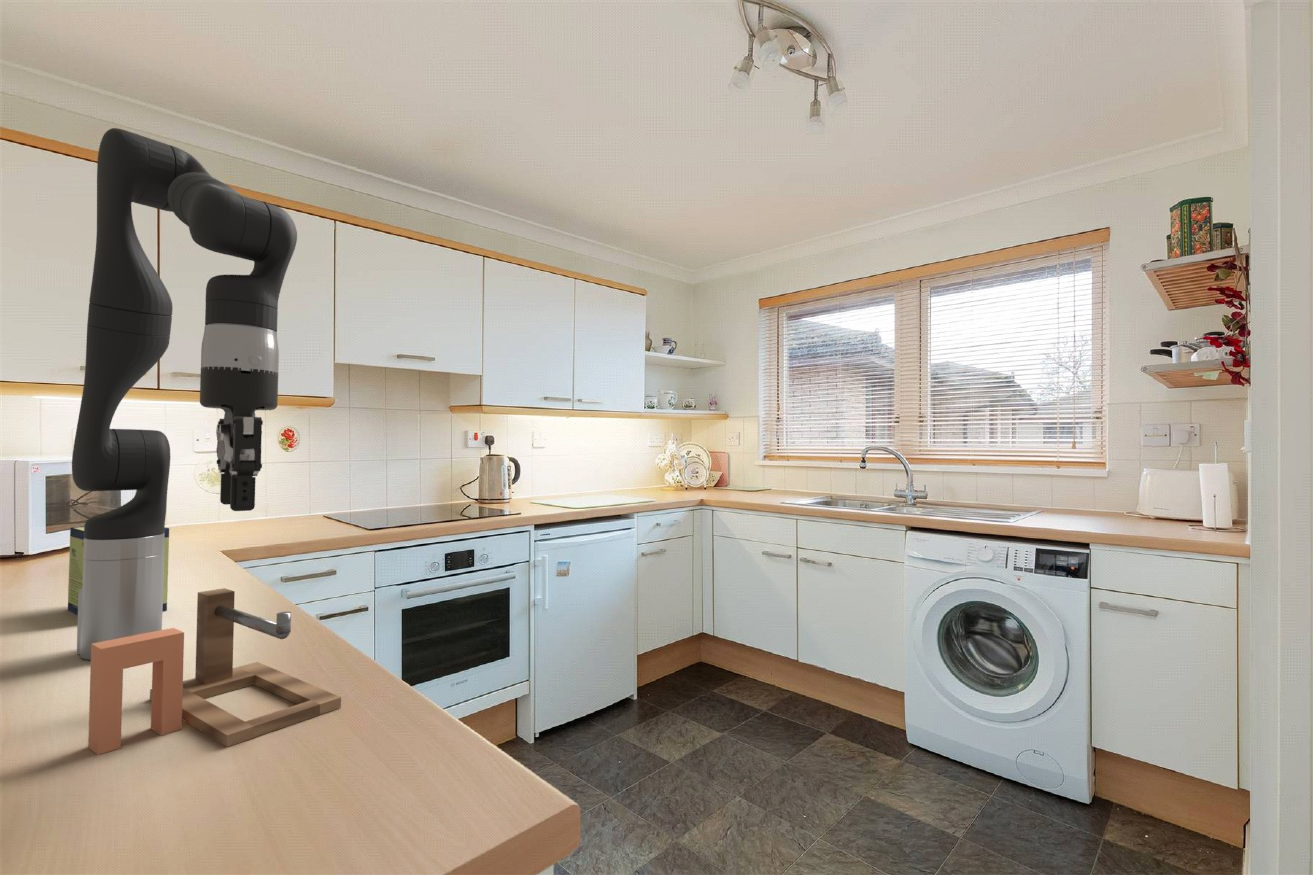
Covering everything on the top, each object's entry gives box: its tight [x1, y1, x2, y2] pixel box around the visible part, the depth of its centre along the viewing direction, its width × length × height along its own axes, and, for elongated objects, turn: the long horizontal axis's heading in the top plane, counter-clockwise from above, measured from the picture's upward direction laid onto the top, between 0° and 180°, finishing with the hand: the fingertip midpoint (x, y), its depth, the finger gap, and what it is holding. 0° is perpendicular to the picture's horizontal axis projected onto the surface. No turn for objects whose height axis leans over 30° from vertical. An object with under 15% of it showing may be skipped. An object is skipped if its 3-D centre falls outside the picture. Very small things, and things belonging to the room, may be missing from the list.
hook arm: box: [215, 605, 292, 640], centre depth 74 cm, size 17×1×3 cm, turn 56°
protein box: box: [67, 525, 170, 615], centre depth 115 cm, size 10×16×16 cm
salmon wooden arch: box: [87, 627, 185, 756], centre depth 66 cm, size 7×3×10 cm, turn 146°
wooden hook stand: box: [149, 587, 342, 748], centre depth 75 cm, size 21×12×12 cm, turn 56°
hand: (236, 507), depth 72 cm, fingers open, 8 cm apart
